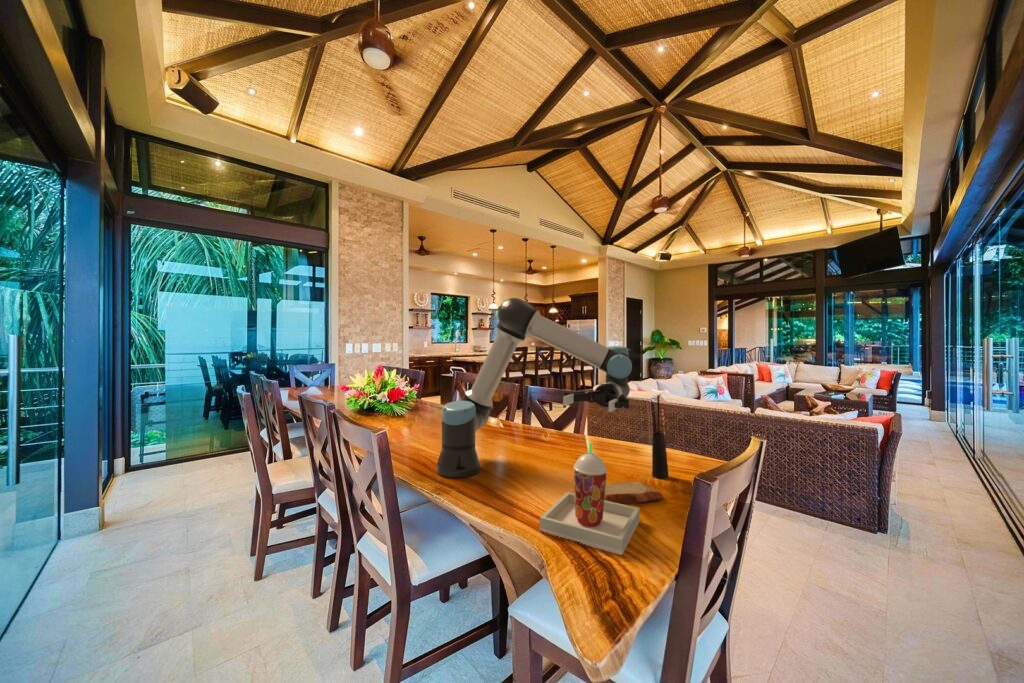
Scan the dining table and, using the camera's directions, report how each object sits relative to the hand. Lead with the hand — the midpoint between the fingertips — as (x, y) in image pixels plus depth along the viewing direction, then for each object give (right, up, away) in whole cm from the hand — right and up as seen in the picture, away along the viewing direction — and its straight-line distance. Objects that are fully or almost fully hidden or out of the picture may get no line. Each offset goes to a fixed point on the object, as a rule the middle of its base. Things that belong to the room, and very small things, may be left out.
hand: (586, 403), depth 114 cm
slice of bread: (+13, -29, +4) cm, 32 cm away
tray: (-1, -29, -14) cm, 32 cm away
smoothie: (-2, -28, -13) cm, 31 cm away
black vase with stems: (+30, -28, +23) cm, 47 cm away
